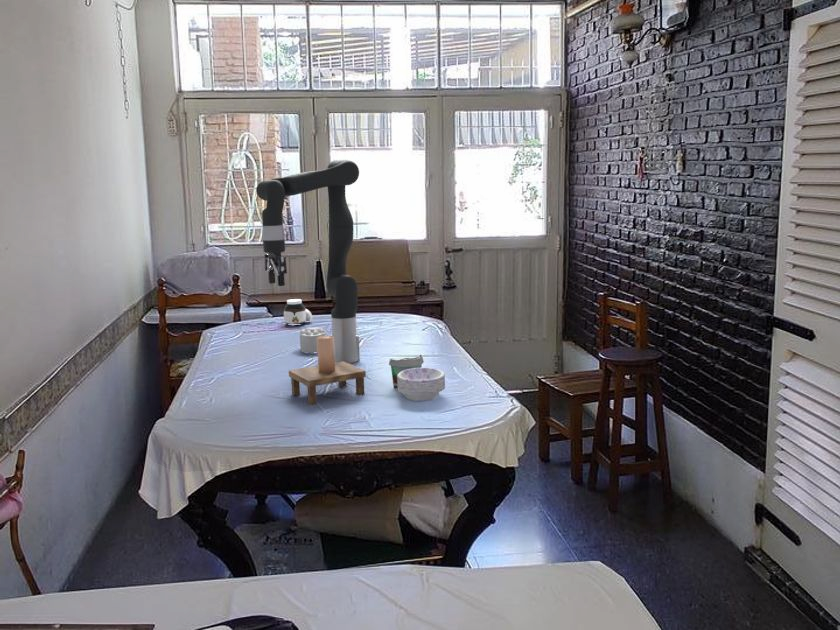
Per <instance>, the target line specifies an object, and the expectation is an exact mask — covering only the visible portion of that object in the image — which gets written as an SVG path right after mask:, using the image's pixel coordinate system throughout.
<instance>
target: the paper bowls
mask: <svg viewBox="0 0 840 630" xmlns="http://www.w3.org/2000/svg"><path fill="white" fill-rule="evenodd" d="M445 375H446V374H445V372H444V371H443V370H441V369H437V368H433V367H421V368H412V369H407V370H403V371H401V372H399V373H398V375H397V383H398V389H397V391H398V392H399V393H402V394H404V397H405V398H406V399H408V400H409V401H414V402H427V401H432V400H434V399H437V397H438V396H439V394H440V393H441V392H442V391H443V390H445V388H446V376H445Z"/></svg>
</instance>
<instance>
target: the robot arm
mask: <svg viewBox="0 0 840 630" xmlns="http://www.w3.org/2000/svg"><path fill="white" fill-rule="evenodd" d="M326 167H327V168H325V169H318V170H311V171H305V172H299V173H294V174H289V175H287V176H283V177H277V178H269V179H265V180H262V181H260V182H259V183H258V184H257V186H256V189H255V190H256V195H257V196H258V198H259V199H261V200H262V201H266V207H265V208H264V209H262V211H261V223H262V231H261V233H262V234H261V236H262V246H263V247H262V249H263V252H264V270H265V271H266V272H267V274H268V283H269V284H270V285H271V284H272V285H273V284H276V275H277V286H278V287H284V286H285V275H286V274H287V273H288V270H287V259H286V256H285V255H284V256H283V255H282V253H285V251H286V238H285V229H284V222H283V221H284V218H283V210H284V206H285V198H286V197H288V196H289V197H290V196H291V197H292V196H297V195H300V194H304V193H308V192H312V191H316V190H319V189H322V188H327V195H328V196H327V197H328V265H327V274H326V291H327V292H328V294H329V295H330V296H331V297H333V298H335V306H334V307H333V308H332V309H331V311H330V312H331V313H330V315H331V317H330V318H331V336H333V339H334V354H335V363H336V362H342V361H344V362H346V363H349V364H351V363H356V362H358V361H361V358H360V356H361V355H360V354H361V353H360V337H359V335H357V310H358V305H359V304H358V303H359V302H358V301H359V300H358V298H359V297H358V295H359V293H358V289H359V288H358V284H357V281H356V279H355V278H354V277H353V276H351V275H349V274H347V258H348V255H349V252H350V250H351V247H352V245H353V242H354V220H353V215H352V213H351V210H350V208H349V205H348V203H347V197H346V186H351V185H353V184H355V183H356V182H357V181H358V178H359V176H360V170H359V167H358V165H357V164H356V163H355V162H354V161H353V160H348V159H334V160H331V161H330V162H329V163H328V165H327V166H326ZM275 272H276V273H275Z"/></svg>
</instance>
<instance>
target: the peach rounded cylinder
mask: <svg viewBox="0 0 840 630" xmlns="http://www.w3.org/2000/svg"><path fill="white" fill-rule="evenodd" d="M317 352H318V353H317V363H318V365H317V366H319V372H322V373H329V372H333V371H335V354H334V339H333V336H332V335H326V336H319V337H317Z"/></svg>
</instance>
